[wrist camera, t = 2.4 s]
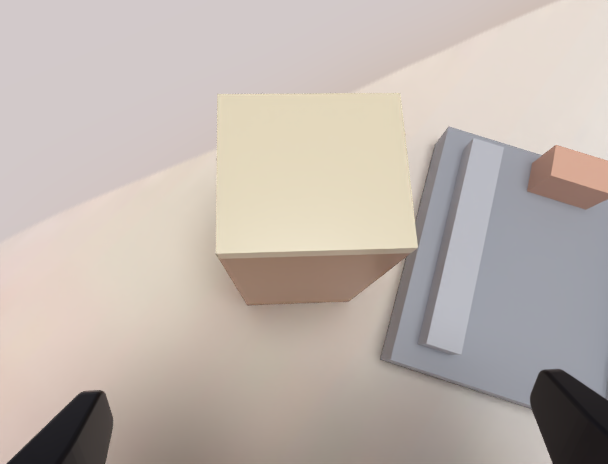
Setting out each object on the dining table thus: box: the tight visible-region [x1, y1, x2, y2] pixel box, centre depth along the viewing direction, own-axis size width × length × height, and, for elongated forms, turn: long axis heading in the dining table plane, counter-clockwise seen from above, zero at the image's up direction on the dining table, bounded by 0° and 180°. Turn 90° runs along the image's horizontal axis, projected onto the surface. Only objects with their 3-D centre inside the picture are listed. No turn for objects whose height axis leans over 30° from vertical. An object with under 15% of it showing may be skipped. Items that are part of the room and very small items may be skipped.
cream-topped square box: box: [216, 93, 418, 305], centre depth 17 cm, size 4×5×11 cm
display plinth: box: [381, 127, 608, 409], centre depth 21 cm, size 12×12×4 cm
